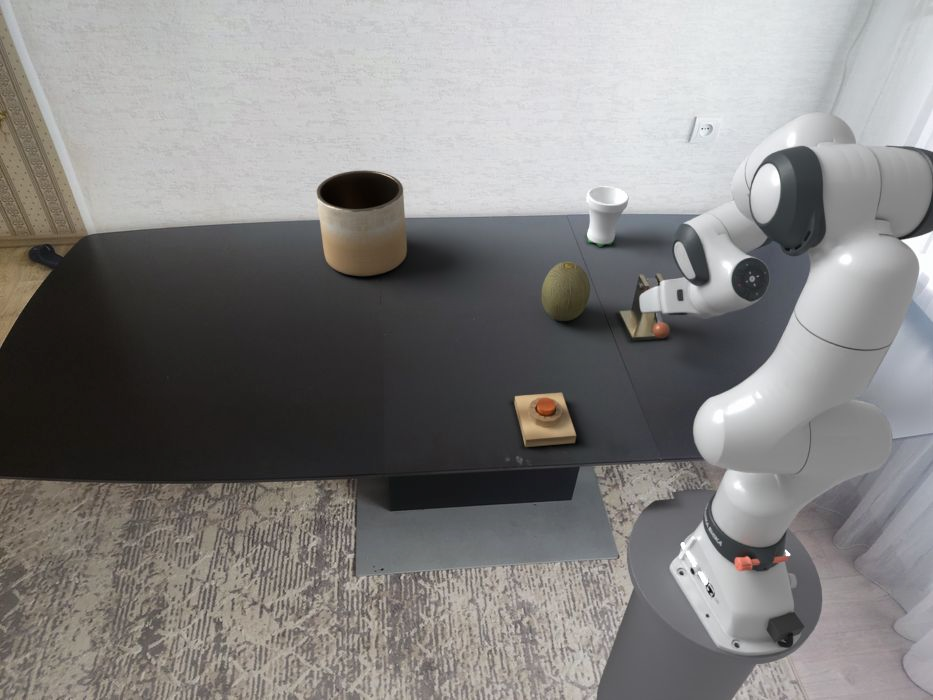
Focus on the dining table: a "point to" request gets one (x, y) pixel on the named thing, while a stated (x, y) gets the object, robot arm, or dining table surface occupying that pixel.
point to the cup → (604, 213)
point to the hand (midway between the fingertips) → (676, 305)
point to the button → (545, 407)
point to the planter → (362, 222)
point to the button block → (544, 421)
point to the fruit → (565, 291)
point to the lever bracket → (640, 314)
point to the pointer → (658, 316)
